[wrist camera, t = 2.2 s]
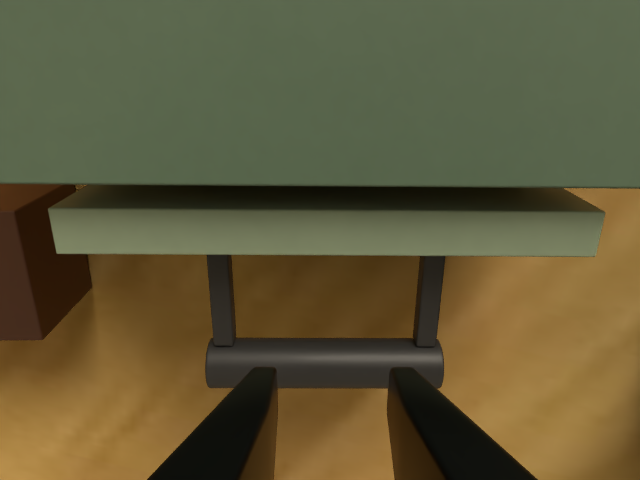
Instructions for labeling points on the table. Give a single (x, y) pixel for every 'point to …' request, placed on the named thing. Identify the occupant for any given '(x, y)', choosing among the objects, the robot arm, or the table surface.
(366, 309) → the table surface
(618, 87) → the cabinet
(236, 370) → the drawer
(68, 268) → the chocolate bar
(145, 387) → the table surface
